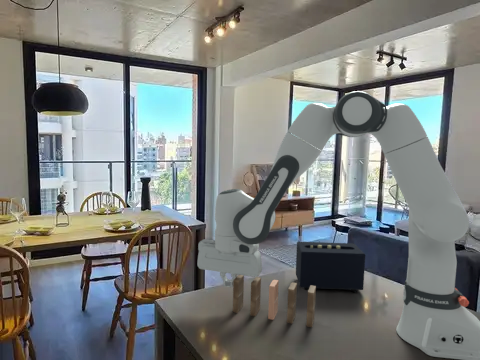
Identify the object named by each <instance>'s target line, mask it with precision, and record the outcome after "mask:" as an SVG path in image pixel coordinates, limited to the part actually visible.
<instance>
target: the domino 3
mask: <svg viewBox="0 0 480 360" xmlns="http://www.w3.org/2000/svg"><path fill="white" fill-rule="evenodd" d="M279 283H280V282H279V279H273V280H272V281H271V282H270V284H269V285H268V289H269V290H268V310H267V311H268V316H267V317H268V318H267V319H268V320H272V321H273V320H274V321H275V317H276V316H277V313H278V312H279V311H278V307H279Z"/></svg>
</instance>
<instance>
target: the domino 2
mask: <svg viewBox="0 0 480 360" xmlns="http://www.w3.org/2000/svg"><path fill="white" fill-rule="evenodd" d="M261 292H262V277H260V276H258V277H254V279H253V280H252V281H251V283H250V304H249V305H250V308H249V309H250V310H249V311H250V313H249V315H250V317H251V316H252V317H256V316H257V314H258V313H259V312H260V309H261V298H262V297H261Z"/></svg>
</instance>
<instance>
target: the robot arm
mask: <svg viewBox="0 0 480 360" xmlns="http://www.w3.org/2000/svg"><path fill="white" fill-rule="evenodd" d="M366 134H369V135H372V136H373V137H375V139H376V141H377V142H378V144H379V146H380V149H381V150H382V153H383V156H384V157H385V159H386V162H387V164H388V166H389V168H390V171H391V173H392V175H393V177H394V179H395V180H394V181H395V182H396V185H397V186H398V189H399V190H400V192H401V194H402V196H403V199H404V200H405V203H406V204H407V206H408V233H407V234H408V258H407V261H408V262H407V271H406V272H407V273H406V280H405V281H404V286H403V296H402V300H403V305H402V306H403V307H402V312H401V315H400V319H399V321H398V324H397V326H396V328H395V329H396V333H397V334H398V336H399V337H400V338H401V339H403V340H404V341H405V342H407V343H408V344H410V345H412V346H413V347H416V348H418V349H420V350H421V351H422V352H423V353H425V354H426V355H428V356H430V357H435V358H445V359H452V360H453V359H454V360H480V320H479V318H478V317H477V316H475V314H473V313H472V312H471V311H469V310H468V309H467V308H466V307H468V306H469V304H470V301H469V300H468V299H467V297H466V296H464V295H463V293H462V292H460V291H459V290H458V288H456V287H455V286H456V277H457V276H456V275H457V267H458V266H457V263H458V261H457V260H458V259H457V254H456V245H455V241H457V240H460V239H462V238H463V237H464V236H465V235H466V233H467V232H468V230H469V226H470V218H469V215H468V213H467V210H466V209H465V206H464V205H463V203H462V201H461V199H460V197H459V195H458V193H457V192H456V190H455V188H454V186H453V184H452V182H451V180H450V179H449V177H448V175H447V174H446V173H445V170H444V168H443V167H442V164H441V163H440V161H439V159H438V157H437V154H436V152H435V150H434V148H433V146H432V143H431V141H430V139H429V136H428V135H427V132H426V131H425V128H424V127H423V124H422V123H421V121H420V119H419V118H418V117H417V115H416V114H415V112H414V111H413V109H412V108H411V107H410V106H409V105H407V104H404V103H392V104H390V105H386V104H385V103H383V102H382V101H380V100H379V99H377V98H376V97H375V96H373V95H371V94H369V93H368V92H366V91H362V90H357V91H355V90H354V91H351V92H347V93H345V94H344V95H343V96H342V97H341V98H339V100H338V101H337V103H336V105H334V106H328V105H325V104H323V103H320V102H311V103H309V104H306V106H305V107H304V108H302V110H301V111H300V113H299V114H298V115H297V116H296V118H294V121H293V122H292V124H291V125H290V126H289V128H288V129H287V131H286V133H285V135H284V137H283V139H282V141H281V143H280V145H279V147H278V150H277V153H276V155H275V158H274V161H273V164H272V167H271V169H270V171H269V174H268V176H267V177H266V179H265V180H264V182H263V183H262V185H261V187H260V188H259V191H257V193H256V195H255V197H252V196H250V195H248V194H247V193H246V192H244V191H243V190H242V189H240V188H232V189H227V190H223V191H221V192H220V193H219V194H217V196H216V201H215V207H214V210H215V211H214V220H215V228H214V229H215V230H214V239H205V238H204V239H202V240H200V241H199V242H198V246H197V247H198V248H197V250H198V255H197V261H196V262H197V267H198V269H200V270H205V271H211V272H219V276H220V278H221V279H222V281H223V287H229V288H233V280H234V279H235V278H236V277H237V276H238V275H244V277H245V276H247V277H252V278H255V277H260V275H261V274H262V270H263V263H262V262H263V261H262V254H261V252H260V251H259V246H260V244H261V243H263V242H264V241H265V240H266V239H267V237H269V234H270V231H271V230H272V228H273V226H274V224H275V222H276V220H277V219H276V218H277V216H276V215H277V214H276V209H277V207H278V206H279V204H280V202H281V200H282V199H283V198H284V196H285V194H286V192H287V191H288V189H289V188H290V187H291V186H292V184H293V183H294V182H295V181H296V180H298V179H299V178H300V177H301V176H302V175H304V174H305V172H306V171H307V170H309V168H310V167H311V166H312V165H313V164H314V162H316V161H317V159H318V158H319V156H320V154H321V153H322V152H323V149H324V148H325V146H326V145H327V143H328V142H329V140H330V139H331V138H332V137H333V136H335V135H339V136H344V137H346V138H359V137H362V136H365V135H366ZM227 274H231V275H230V276H231V279H230V278H228V276H227Z"/></svg>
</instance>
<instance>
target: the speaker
mask: <svg viewBox="0 0 480 360" xmlns="http://www.w3.org/2000/svg"><path fill="white" fill-rule="evenodd" d="M295 256H296V257H295V258H296V259H295V276H296V279H297V282H298V286H299V288H302V289H304V290H305V291H308V290H309V288H310V285H312V286H316V289H322V290H323V289H325V290H326V289H327V290H347V291H348V290H350V291H351V292H353V293H356V292H357V291H363V290H364V284H365V266H366V253H365V252H363V251H362V250H361V249H360V248H359V247H358V245H356V244H355V243H354V242H353V243H350V242H349V243H348V242H325V241H324V242H323V241H322V242H321V241H297V242H296V255H295Z"/></svg>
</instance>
